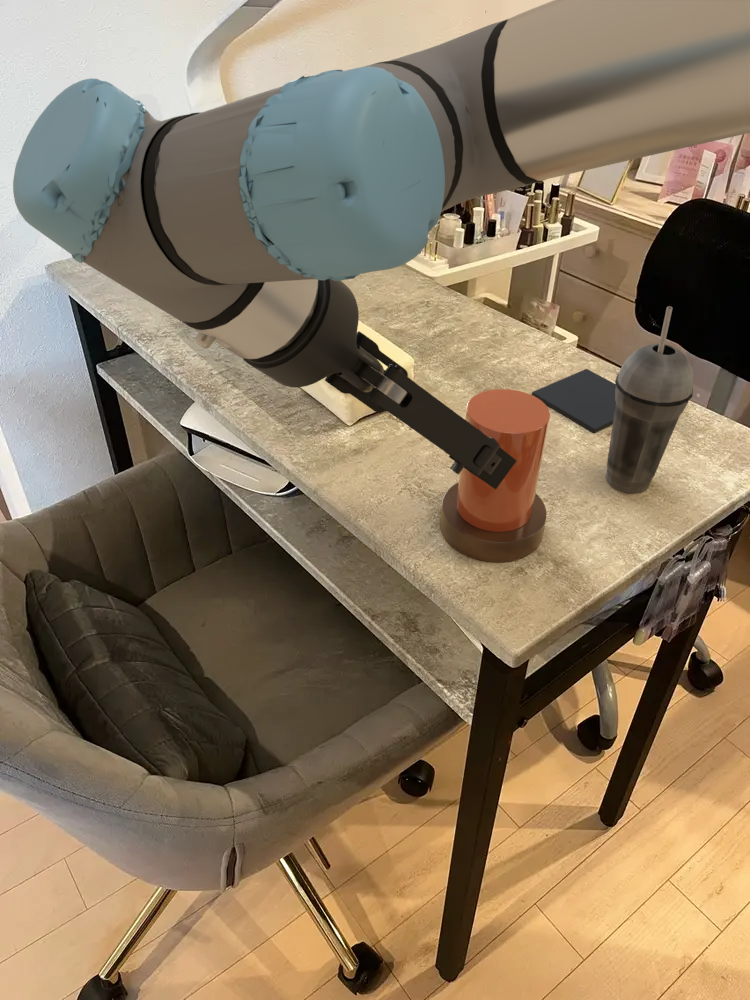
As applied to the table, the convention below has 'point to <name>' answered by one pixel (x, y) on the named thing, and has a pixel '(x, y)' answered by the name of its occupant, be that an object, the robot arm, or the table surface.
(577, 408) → the mat
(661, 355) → the beverage cup
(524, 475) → the terracotta cylinder
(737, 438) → the table surface
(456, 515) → the saucer
